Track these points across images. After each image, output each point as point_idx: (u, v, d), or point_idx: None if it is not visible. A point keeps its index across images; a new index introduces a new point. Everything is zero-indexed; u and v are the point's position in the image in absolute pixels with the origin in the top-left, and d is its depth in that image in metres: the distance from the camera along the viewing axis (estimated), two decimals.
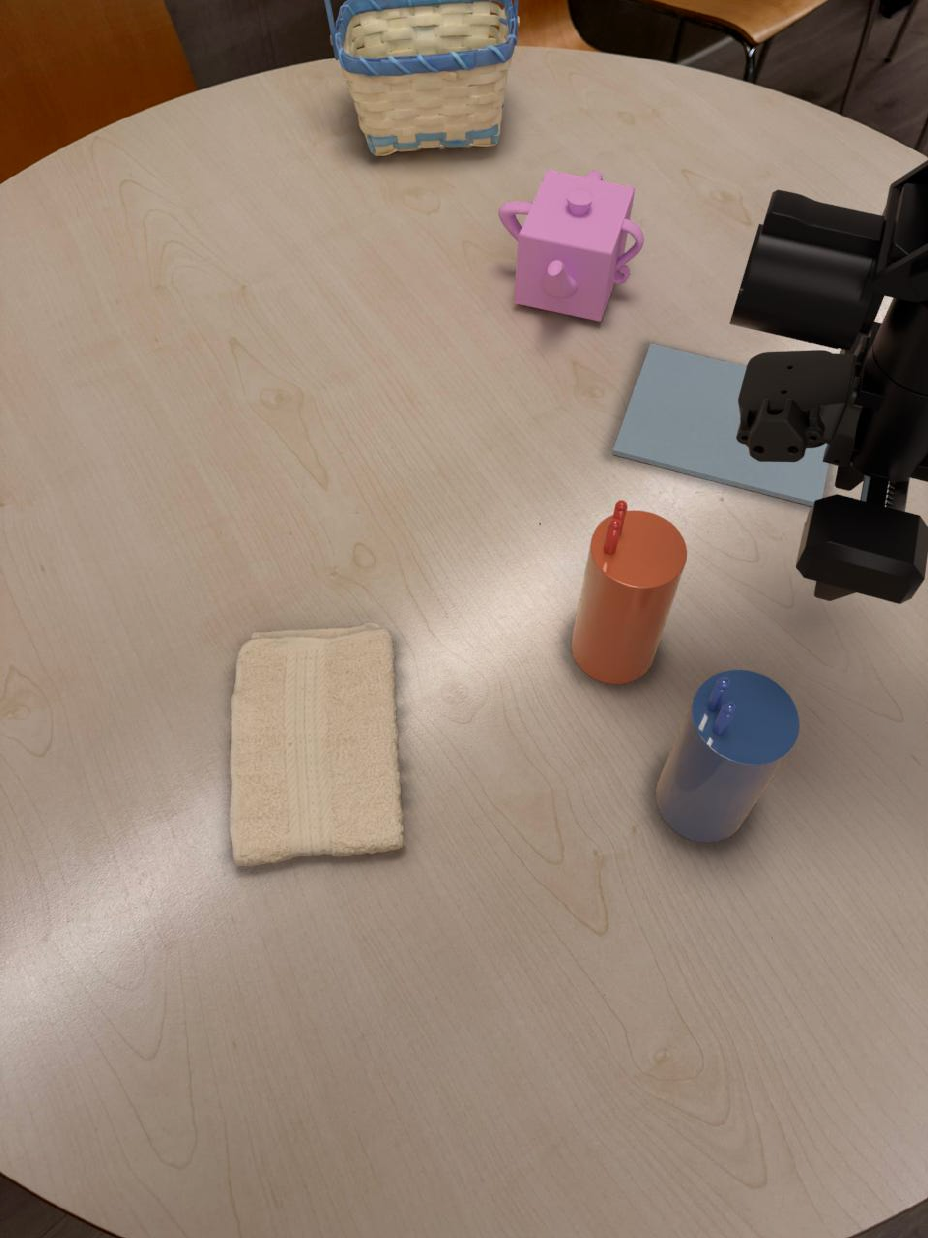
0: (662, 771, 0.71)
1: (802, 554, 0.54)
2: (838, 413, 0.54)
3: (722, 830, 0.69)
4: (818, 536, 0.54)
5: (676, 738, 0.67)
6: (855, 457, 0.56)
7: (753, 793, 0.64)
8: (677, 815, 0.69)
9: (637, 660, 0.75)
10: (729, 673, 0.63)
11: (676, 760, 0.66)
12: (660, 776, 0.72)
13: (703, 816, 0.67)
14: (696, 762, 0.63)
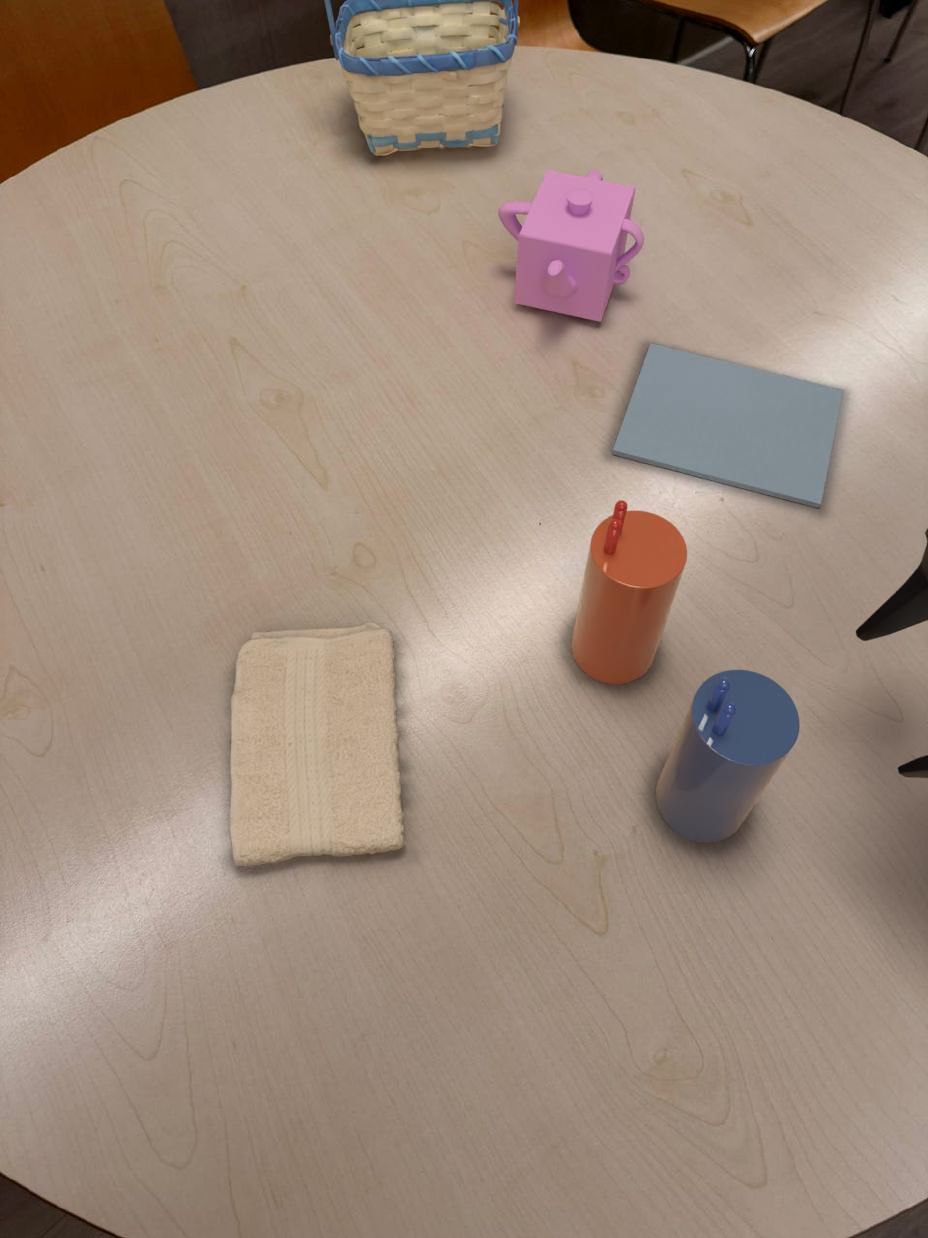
0: (662, 771, 0.71)
1: None
2: None
3: (722, 830, 0.69)
4: None
5: (676, 738, 0.67)
6: None
7: (753, 793, 0.64)
8: (677, 815, 0.69)
9: (637, 660, 0.75)
10: (729, 673, 0.63)
11: (676, 760, 0.66)
12: (660, 776, 0.72)
13: (703, 816, 0.67)
14: (696, 762, 0.63)
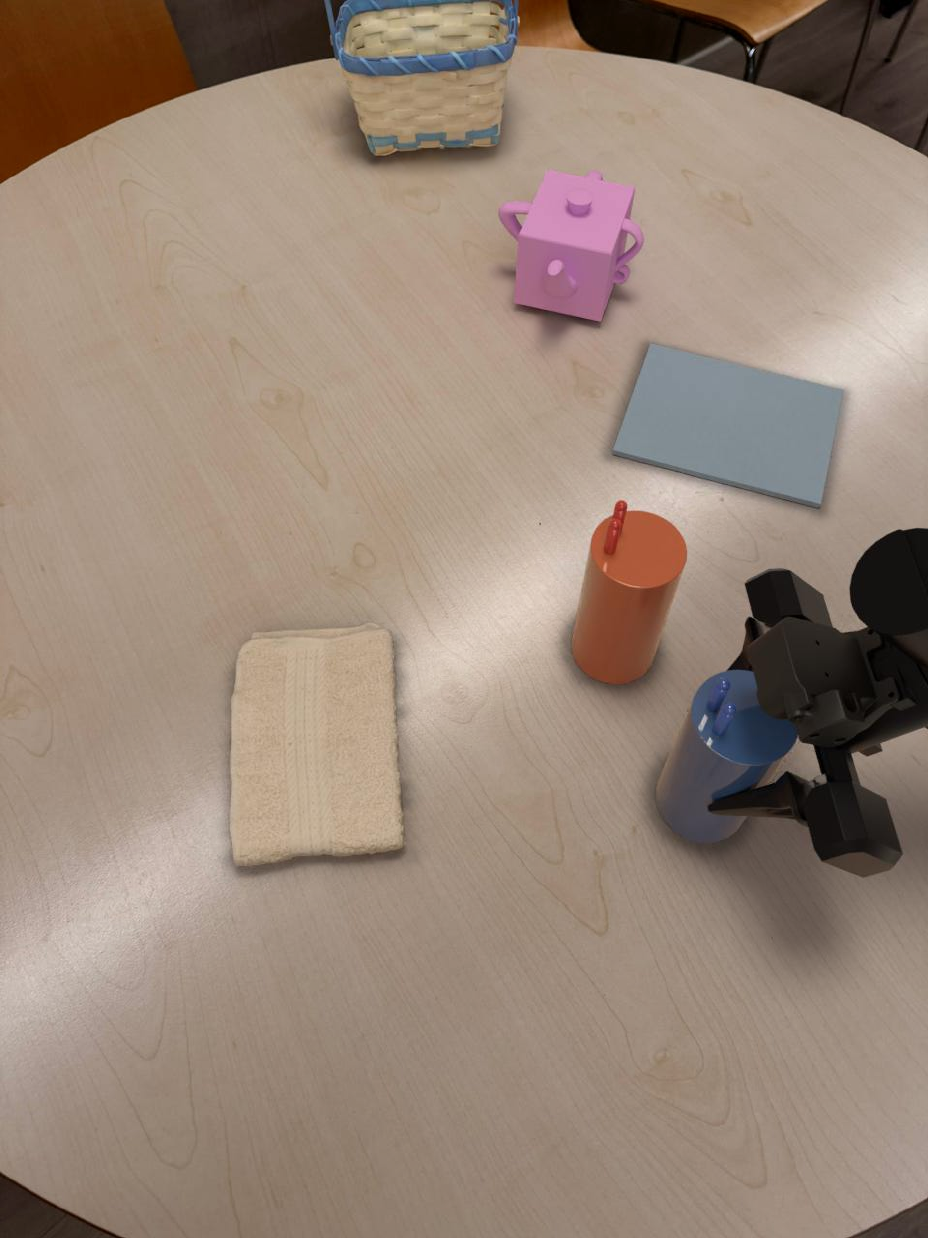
0: (662, 771, 0.71)
1: (834, 843, 0.55)
2: (867, 706, 0.56)
3: (722, 831, 0.69)
4: (854, 829, 0.55)
5: (676, 738, 0.67)
6: None
7: None
8: (677, 815, 0.69)
9: (637, 660, 0.75)
10: (729, 673, 0.63)
11: (676, 760, 0.66)
12: (660, 776, 0.72)
13: (702, 816, 0.67)
14: (696, 762, 0.63)
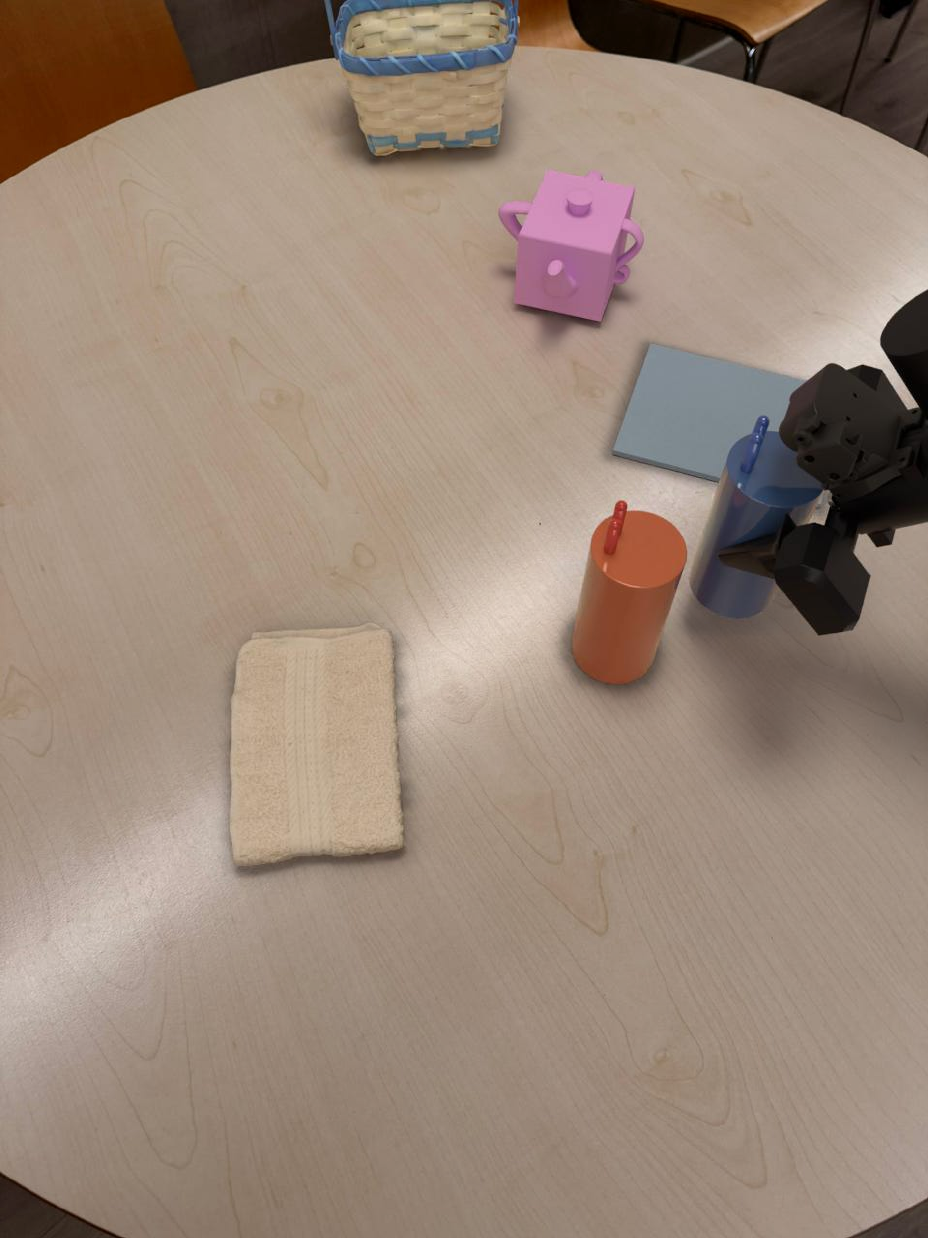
0: None
1: (791, 567, 0.59)
2: (877, 465, 0.59)
3: (732, 601, 0.73)
4: (814, 561, 0.59)
5: None
6: None
7: None
8: (698, 572, 0.74)
9: (637, 660, 0.75)
10: None
11: (710, 508, 0.71)
12: None
13: (716, 572, 0.72)
14: (719, 499, 0.68)
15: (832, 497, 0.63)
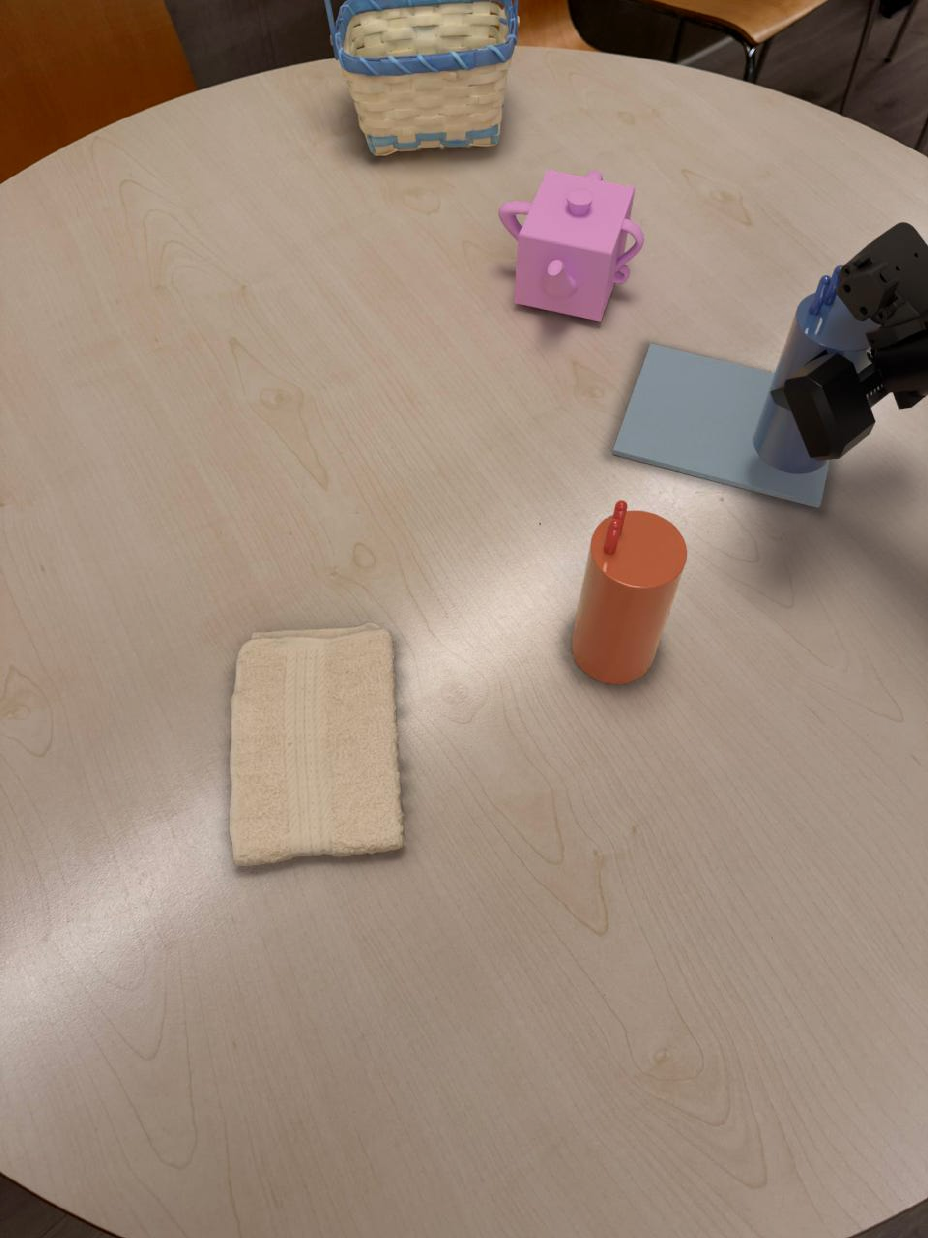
0: None
1: (798, 377, 0.67)
2: (908, 317, 0.66)
3: (777, 447, 0.81)
4: (819, 377, 0.67)
5: None
6: (883, 350, 0.69)
7: None
8: (759, 417, 0.82)
9: (637, 660, 0.75)
10: None
11: None
12: None
13: (770, 413, 0.80)
14: None
15: (871, 348, 0.70)
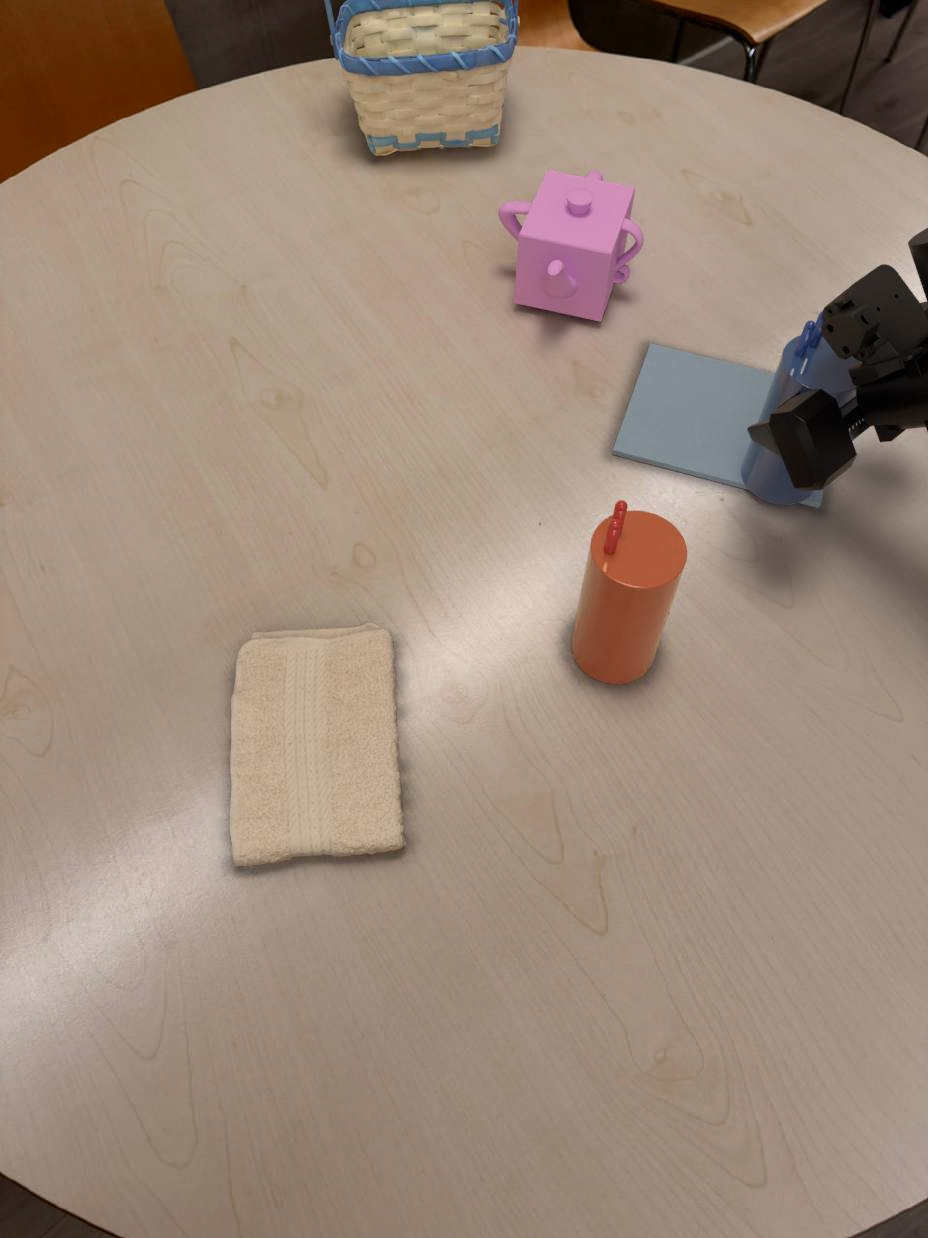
0: None
1: (783, 412, 0.70)
2: (889, 356, 0.69)
3: (764, 480, 0.84)
4: (803, 413, 0.70)
5: None
6: (864, 386, 0.72)
7: None
8: (747, 450, 0.86)
9: (637, 660, 0.75)
10: None
11: None
12: None
13: (757, 447, 0.83)
14: (773, 378, 0.79)
15: None
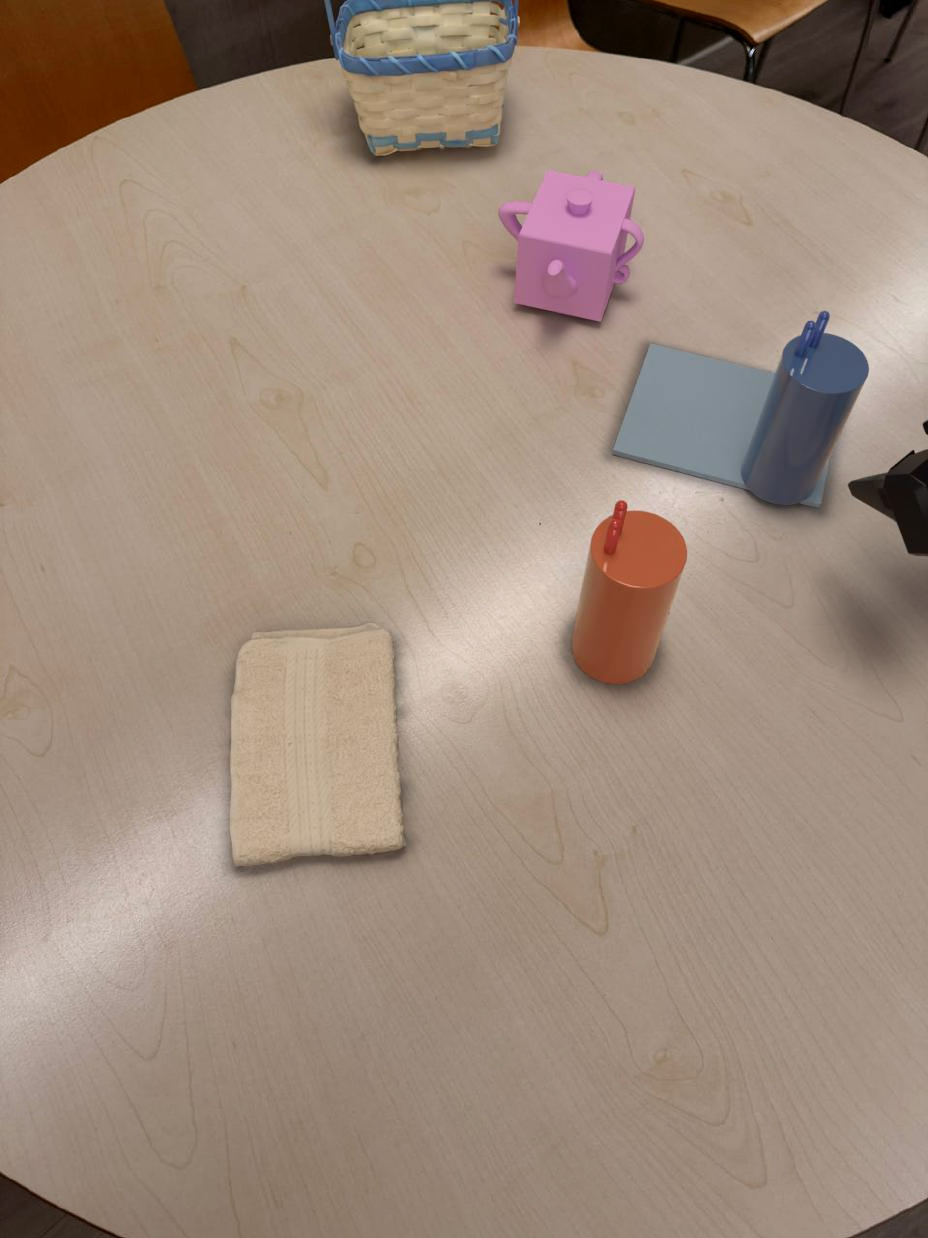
0: None
1: (901, 474, 0.65)
2: None
3: (764, 480, 0.84)
4: (923, 475, 0.65)
5: None
6: None
7: (792, 433, 0.79)
8: (747, 450, 0.86)
9: (637, 660, 0.75)
10: (845, 341, 0.78)
11: None
12: None
13: (757, 447, 0.83)
14: (773, 378, 0.79)
15: None
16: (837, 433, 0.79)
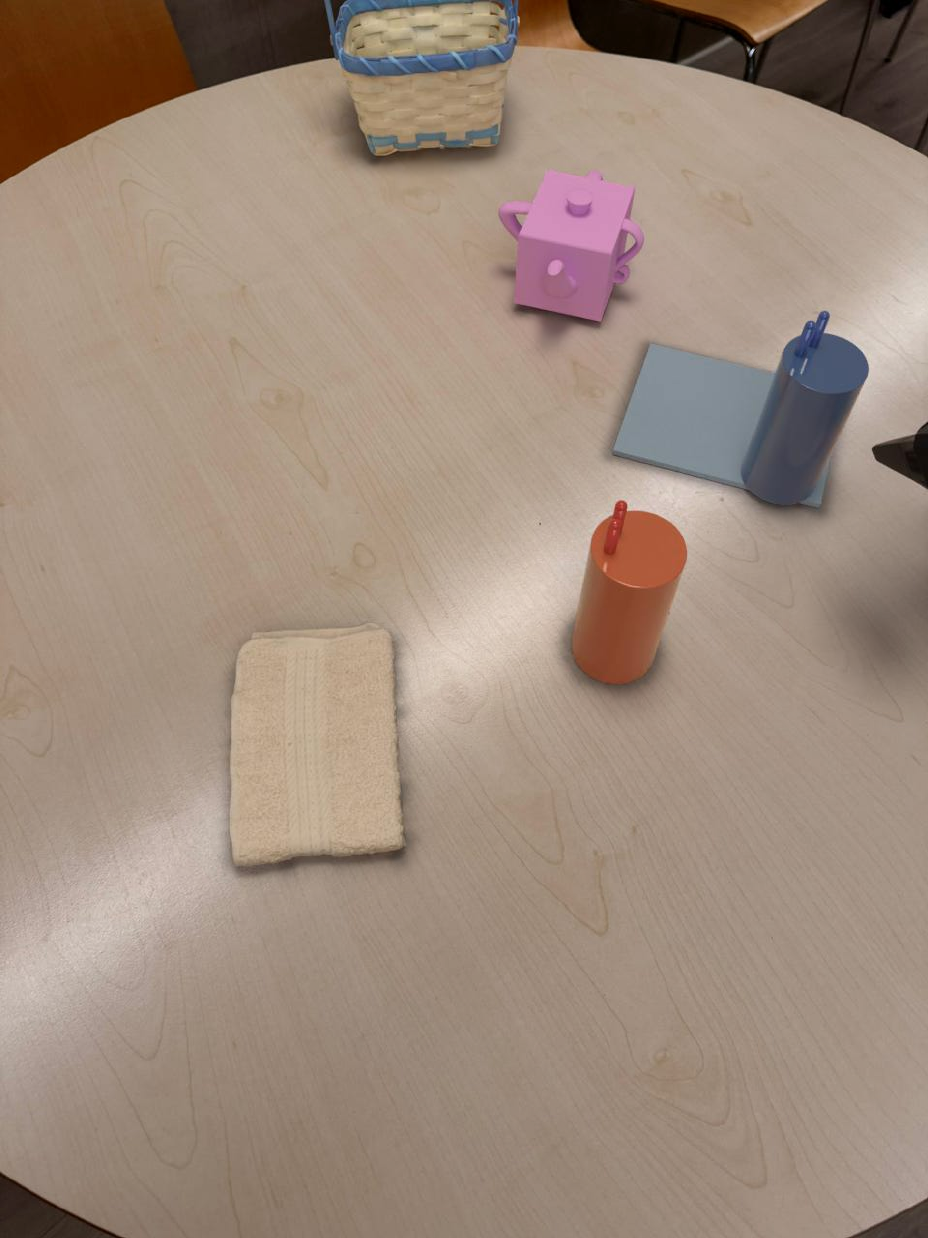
0: None
1: None
2: None
3: (764, 480, 0.84)
4: None
5: None
6: None
7: (792, 433, 0.79)
8: (747, 450, 0.86)
9: (637, 660, 0.75)
10: (845, 341, 0.78)
11: None
12: None
13: (757, 447, 0.83)
14: (773, 378, 0.79)
15: None
16: (837, 433, 0.79)
